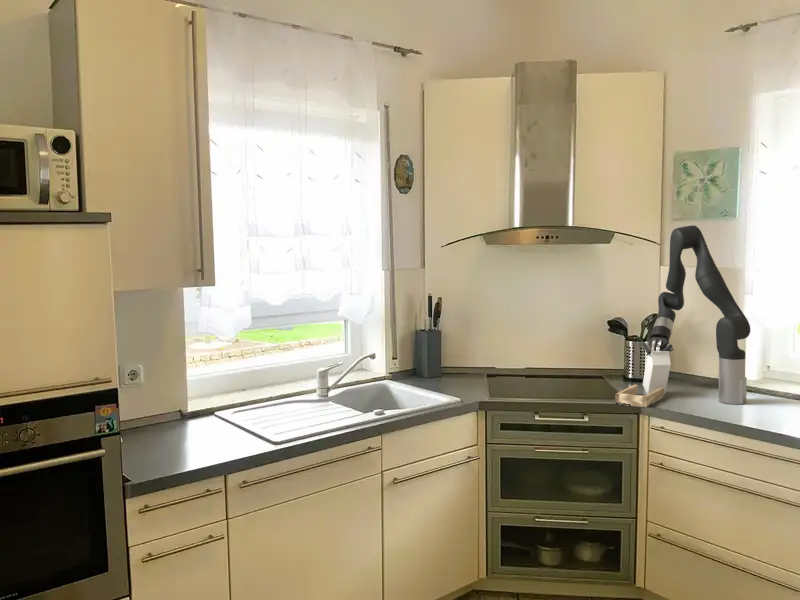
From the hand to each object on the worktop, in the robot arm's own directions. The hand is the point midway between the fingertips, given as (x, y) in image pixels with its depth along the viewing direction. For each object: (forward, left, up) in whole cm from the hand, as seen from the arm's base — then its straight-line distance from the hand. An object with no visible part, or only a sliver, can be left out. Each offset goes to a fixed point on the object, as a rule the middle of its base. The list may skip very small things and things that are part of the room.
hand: (652, 363), depth 281 cm
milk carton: (0, -1, -11) cm, 12 cm away
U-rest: (0, +15, -13) cm, 19 cm away
